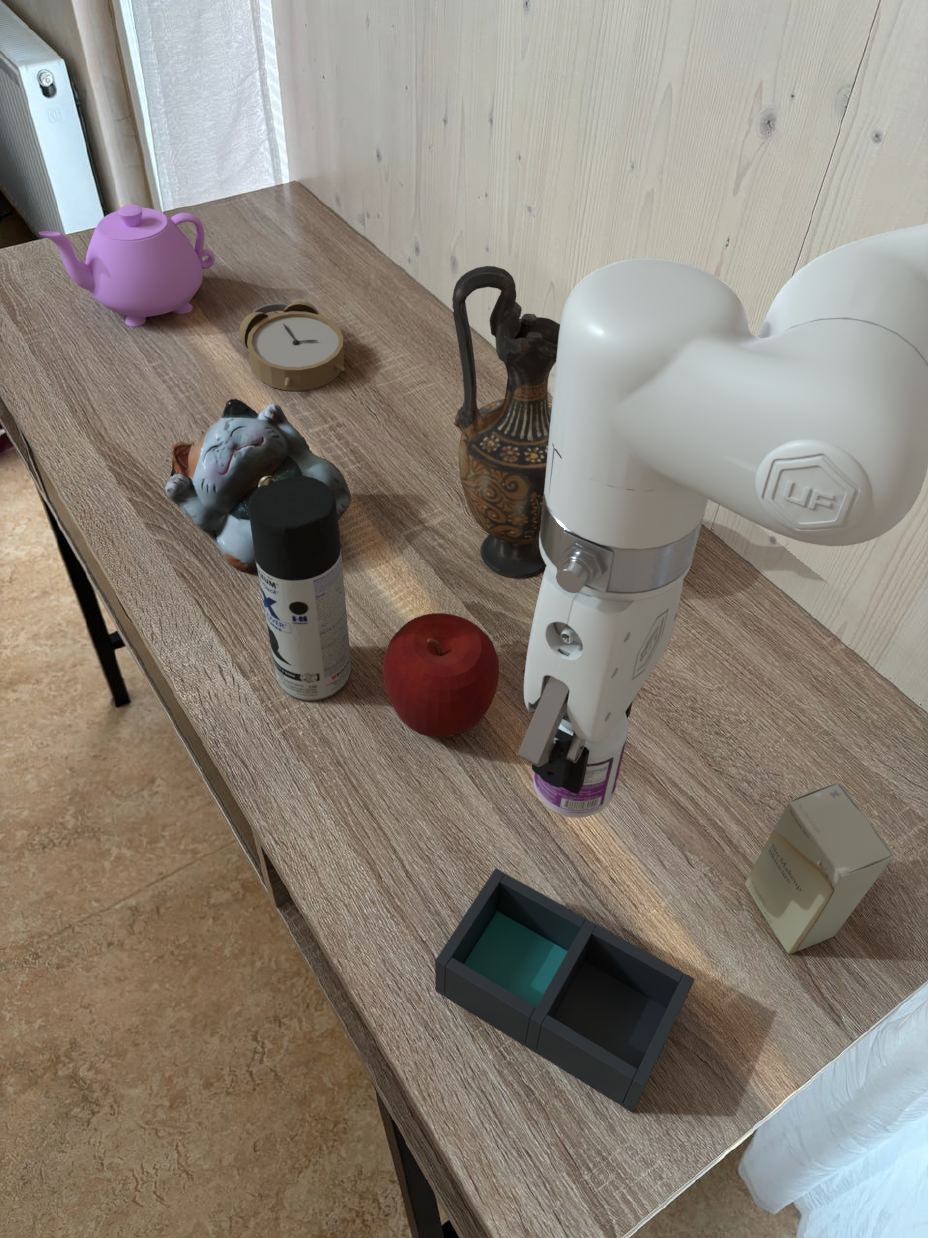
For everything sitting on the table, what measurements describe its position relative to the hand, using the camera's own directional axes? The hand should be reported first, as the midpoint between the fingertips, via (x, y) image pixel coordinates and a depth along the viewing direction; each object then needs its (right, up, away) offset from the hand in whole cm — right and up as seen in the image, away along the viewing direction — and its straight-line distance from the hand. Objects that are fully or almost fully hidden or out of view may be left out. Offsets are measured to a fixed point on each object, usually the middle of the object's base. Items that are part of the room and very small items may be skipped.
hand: (581, 742), depth 62 cm
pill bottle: (0, -3, +4) cm, 5 cm away
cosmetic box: (+17, -14, +14) cm, 26 cm away
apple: (-9, -1, +25) cm, 27 cm away
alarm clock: (-28, +39, +61) cm, 78 cm away
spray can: (-20, +3, +28) cm, 35 cm away
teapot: (-48, +48, +68) cm, 96 cm away
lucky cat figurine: (-27, +16, +40) cm, 51 cm away
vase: (-2, +14, +39) cm, 42 cm away
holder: (-1, -19, +9) cm, 21 cm away
